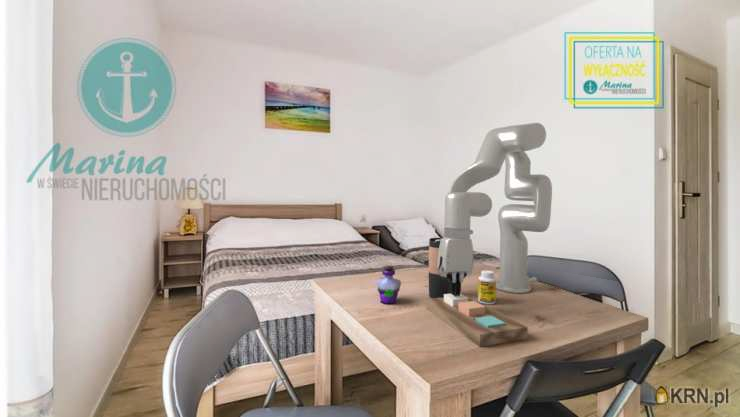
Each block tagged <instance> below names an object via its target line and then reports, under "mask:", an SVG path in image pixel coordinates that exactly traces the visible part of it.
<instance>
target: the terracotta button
mask: <svg viewBox="0 0 740 417" xmlns="http://www.w3.org/2000/svg"><path fill="white" fill-rule="evenodd" d="M458 311H460V312H462V313H463V314H465V315H467V316H468V317H470V316H478V315H485V306H483V305H481V304H479V303H477V302H475V301H468V302H460V303H458Z"/></svg>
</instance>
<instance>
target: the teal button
mask: <svg viewBox="0 0 740 417" xmlns="http://www.w3.org/2000/svg"><path fill="white" fill-rule="evenodd" d="M475 321H476V322H478V323H480V324H481V325H483V326H485V327H486V328H493V327H500V326H505V323H504V322H502V321H501V320H499V319H497V318H495V317H493V316H486V317H479V318H475Z"/></svg>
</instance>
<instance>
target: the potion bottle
mask: <svg viewBox="0 0 740 417" xmlns="http://www.w3.org/2000/svg"><path fill="white" fill-rule="evenodd" d="M381 274H382V275H383V277H382V278H379V279H375V280H376V287H377V291H378V293H379V299H380V303H381V304H383V305H388V306H389V305H391V306H393V305H395V304H397V300H398V295H399V292H400V290H401V285H402V282H401V280H400V279H397V278H394V277H393V276H394V275H396V271H395V269H394V265H384V266H383V268H382V273H381Z"/></svg>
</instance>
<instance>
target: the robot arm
mask: <svg viewBox="0 0 740 417" xmlns="http://www.w3.org/2000/svg"><path fill="white" fill-rule="evenodd" d="M545 128H546V127H545V126H544V125H543V124H541V123H539V122H532V123H531V122H530V123H524V124H516V125H509V126H504V127H503V126H502V127H498V128H497V127H496V128H493V129H491V130H489V131H488V132H487V133H486V135H485V137H484V139H483V142H482V143H481V147H480V149H479V151H478V154H477V156H476V158H475V161H474V162H473V164H470V166H468V167H466V169H465V170H463V172H461V173H460V174H459V175H458V176H456V178H455V179H454V180H453V182H452V184H451V186H450V187H449V190H448V193H446V195H445V197H444V198H445V199H444V223H443V224H444V225H443V226H444V228H443V237H440V238H441V241H440V246H439V252H438V261H437V267H438V269H439V270H440V271H439V275H440V276H443V277H446V278H447V279H448V280H449V281H450V286H449V291H450V294H452V295H454V296H457V295H458V296H460V294H461V292H462V283H463V282H464V279H465V278H467V276H470V275H472V274H473V269H474V244H473V241H472V238H471V235H473V234H474V231H473V230H472V229H471V218H472V217H475V218H476V217H477V218H479V217H480V218H481V217H485V216H487V215H489V214H490V212H491V211H492V208H493V200H492V198H491V197H490V196H489V195H488V194H486V193H485V192H473V191H469V190H470V189H471V188H473V187H474V186H476V185H479V184H480V183H484V182H485V181H488V180H490V179H492V178H494V177H496V176H497V175H499V173H500V172H501V169H502V166H503V164H504V162H505V172H504V189H503V191H504V196H505V198H506V199H508V200H510V201H518V202H519V201H521V202H533V204H521V203H520V204H518V203H517V204H516V203H510V204H505V205H503V206H501V207H500V209H499V210H498V214H497V218H498V226H499V234H500V235H499V237H500V238H499V239H500V240H499V244H500V245H499V270H498V271H499V273H498V274H499V276H498V281H496V290H500V291H503V292H505V293H512V294H514V293H515V294H526V293H529V292H531V290H532V287H531V286H530V283H531V284H532V283H533V284H534V283H537V281H538V279H537V277H535V276H533V277H530V276H528V252H529V251H528V250H529V249H528V248H529V243H528V239H527V237H526V235H525V234H524V232H534V233H543V232H546V231H547V230H548V229H549V227H550V223H551V216H552V213H551V212H552V200H553V199H552V197H553V185H552V184H553V183H552V181H551V179H550V177H549V176H547V175H546V174H539V173H538V174H531V165H532V163H531V159H530V157H529V156H528V154H527V153H526V152H528V151H533V150H536V149H538V148H541V147H542V146H543V145H544V144H545V142H546V139H547V131H546V129H545ZM446 272H447V273H446Z"/></svg>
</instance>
